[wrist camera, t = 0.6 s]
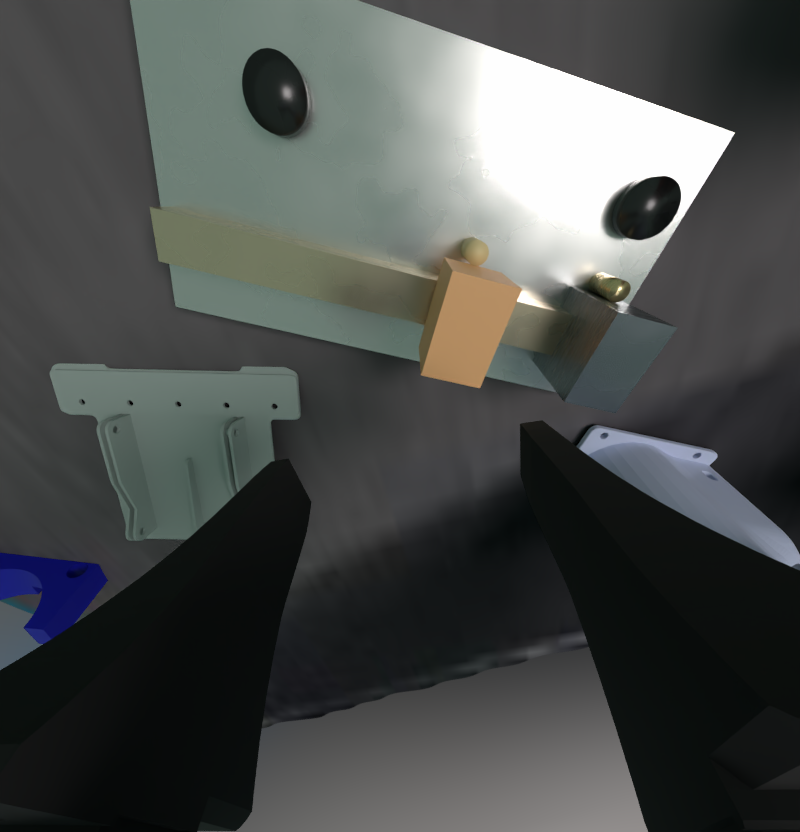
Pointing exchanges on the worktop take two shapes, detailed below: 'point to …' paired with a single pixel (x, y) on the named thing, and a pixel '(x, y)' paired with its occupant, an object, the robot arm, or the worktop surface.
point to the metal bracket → (178, 436)
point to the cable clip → (50, 590)
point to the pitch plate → (408, 184)
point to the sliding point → (466, 318)
